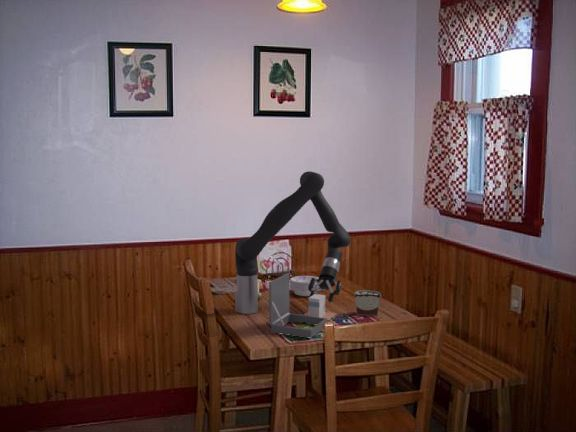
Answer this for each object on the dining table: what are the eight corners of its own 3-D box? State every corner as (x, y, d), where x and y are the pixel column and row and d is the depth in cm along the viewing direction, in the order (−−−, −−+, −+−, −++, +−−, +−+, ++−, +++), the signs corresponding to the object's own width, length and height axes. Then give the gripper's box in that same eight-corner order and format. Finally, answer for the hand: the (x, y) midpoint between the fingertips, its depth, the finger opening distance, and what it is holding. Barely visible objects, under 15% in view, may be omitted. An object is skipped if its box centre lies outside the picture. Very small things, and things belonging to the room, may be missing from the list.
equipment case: (269, 332, 266) (269, 282, 263) (287, 320, 282) (287, 273, 278) (311, 339, 258) (311, 287, 255) (327, 326, 274) (327, 277, 271)
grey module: (307, 318, 284) (308, 298, 283) (314, 313, 291) (314, 294, 289) (319, 319, 282) (319, 299, 280) (325, 315, 288) (325, 295, 287)
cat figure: (266, 302, 315) (265, 285, 339) (266, 285, 313) (265, 269, 337) (246, 303, 314) (246, 285, 338) (246, 285, 312) (246, 269, 336)
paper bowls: (302, 288, 335) (302, 273, 334) (326, 293, 326) (326, 278, 324) (283, 294, 324) (283, 279, 322) (307, 300, 314) (307, 284, 313)
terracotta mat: (295, 320, 282) (295, 319, 282) (310, 310, 296) (310, 310, 296) (323, 324, 276) (323, 323, 276) (337, 314, 291) (337, 313, 291)
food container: (380, 311, 295) (381, 290, 294) (381, 315, 289) (381, 293, 288) (353, 310, 296) (353, 289, 295) (353, 314, 290) (353, 293, 289)
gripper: (313, 263, 297) (303, 294, 289) (342, 266, 291) (333, 298, 283) (317, 272, 303) (307, 303, 294) (346, 275, 297) (337, 306, 288)
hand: (320, 300), depth 288 cm, fingers open, 8 cm apart
